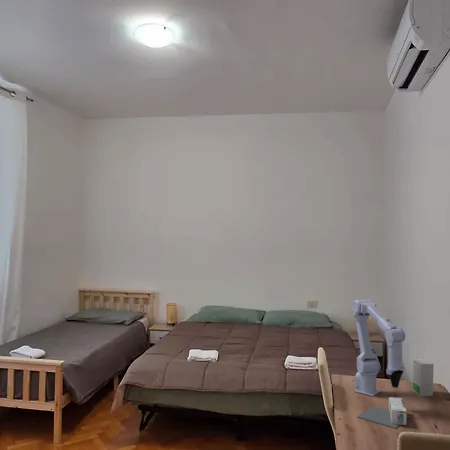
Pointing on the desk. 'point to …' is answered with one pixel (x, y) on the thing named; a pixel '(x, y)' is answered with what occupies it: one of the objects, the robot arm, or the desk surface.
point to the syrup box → (397, 411)
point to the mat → (378, 416)
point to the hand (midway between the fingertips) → (395, 387)
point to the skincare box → (422, 377)
